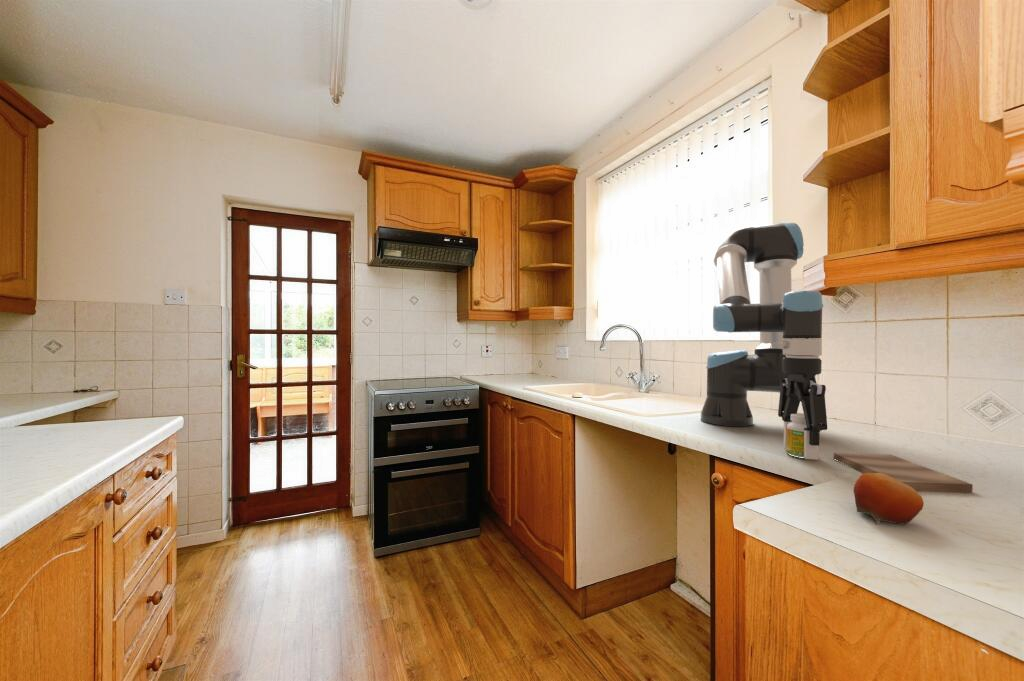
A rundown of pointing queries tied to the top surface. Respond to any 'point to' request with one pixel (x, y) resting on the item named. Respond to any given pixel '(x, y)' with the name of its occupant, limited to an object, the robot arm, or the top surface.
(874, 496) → the fruit
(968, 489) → the walnut board
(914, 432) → the top surface
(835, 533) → the top surface
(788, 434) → the supplement bottle
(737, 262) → the robot arm
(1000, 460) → the top surface
